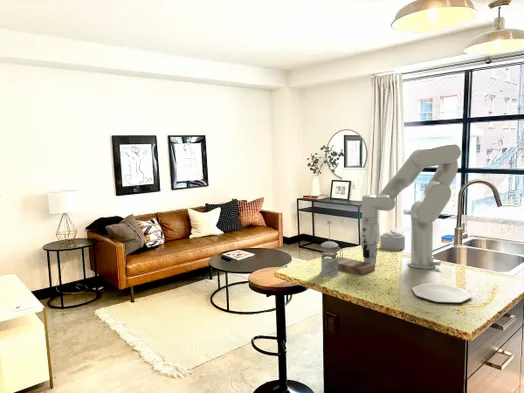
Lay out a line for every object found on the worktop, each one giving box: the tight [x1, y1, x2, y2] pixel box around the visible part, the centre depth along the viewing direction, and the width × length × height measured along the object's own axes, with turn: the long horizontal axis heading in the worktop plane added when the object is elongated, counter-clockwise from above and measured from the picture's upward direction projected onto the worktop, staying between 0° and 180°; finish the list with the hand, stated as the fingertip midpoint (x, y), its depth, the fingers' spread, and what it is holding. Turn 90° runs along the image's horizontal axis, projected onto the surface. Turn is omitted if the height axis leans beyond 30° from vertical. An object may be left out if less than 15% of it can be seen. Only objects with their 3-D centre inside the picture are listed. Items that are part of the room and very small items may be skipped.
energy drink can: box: [363, 238, 377, 265], centre depth 191 cm, size 6×6×15 cm
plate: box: [411, 282, 472, 304], centre depth 149 cm, size 20×20×2 cm
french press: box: [319, 220, 344, 278], centre depth 178 cm, size 10×12×25 cm
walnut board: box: [329, 256, 376, 276], centre depth 186 cm, size 20×10×3 cm, turn 42°
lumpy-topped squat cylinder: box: [379, 231, 406, 251], centre depth 223 cm, size 10×13×9 cm
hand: (369, 255), depth 191 cm, fingers closed on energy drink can, 6 cm apart
